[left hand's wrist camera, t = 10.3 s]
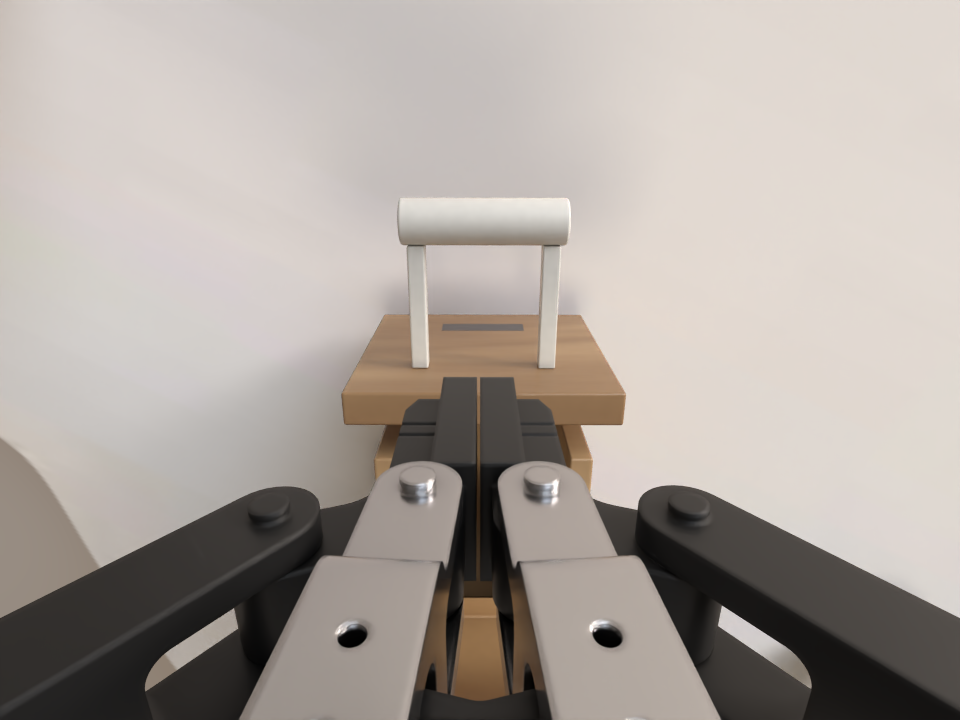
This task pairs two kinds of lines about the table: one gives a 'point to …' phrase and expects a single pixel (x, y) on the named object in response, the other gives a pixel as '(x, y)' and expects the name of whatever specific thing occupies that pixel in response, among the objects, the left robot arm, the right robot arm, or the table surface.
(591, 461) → the drawer
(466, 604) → the cabinet
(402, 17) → the table surface
